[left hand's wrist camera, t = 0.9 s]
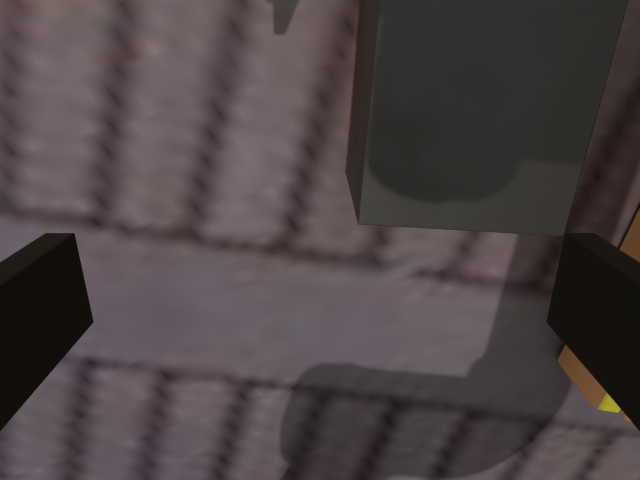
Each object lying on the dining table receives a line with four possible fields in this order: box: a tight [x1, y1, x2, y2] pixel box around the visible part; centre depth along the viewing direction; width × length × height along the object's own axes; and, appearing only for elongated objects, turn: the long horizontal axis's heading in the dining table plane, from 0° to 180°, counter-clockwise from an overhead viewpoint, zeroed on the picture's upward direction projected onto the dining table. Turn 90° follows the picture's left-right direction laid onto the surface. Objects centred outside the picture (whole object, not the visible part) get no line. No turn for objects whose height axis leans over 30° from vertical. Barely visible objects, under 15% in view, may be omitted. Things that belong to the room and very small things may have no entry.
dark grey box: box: [345, 0, 628, 236], centre depth 25 cm, size 20×11×12 cm, turn 177°
